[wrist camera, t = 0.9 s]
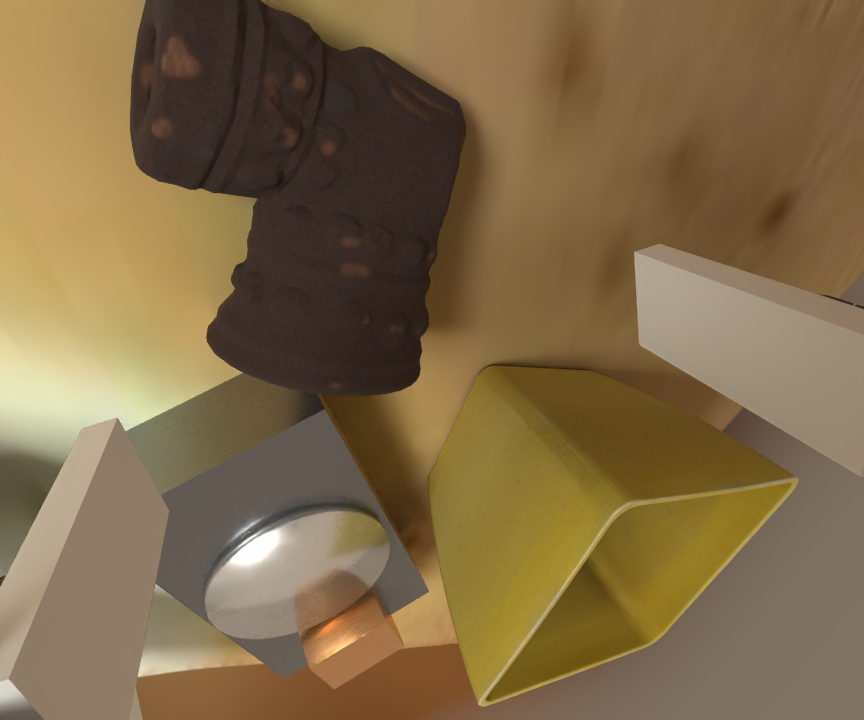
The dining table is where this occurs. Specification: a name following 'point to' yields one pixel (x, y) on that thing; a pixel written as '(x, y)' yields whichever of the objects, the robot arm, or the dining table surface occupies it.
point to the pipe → (303, 186)
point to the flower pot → (582, 521)
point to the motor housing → (277, 529)
